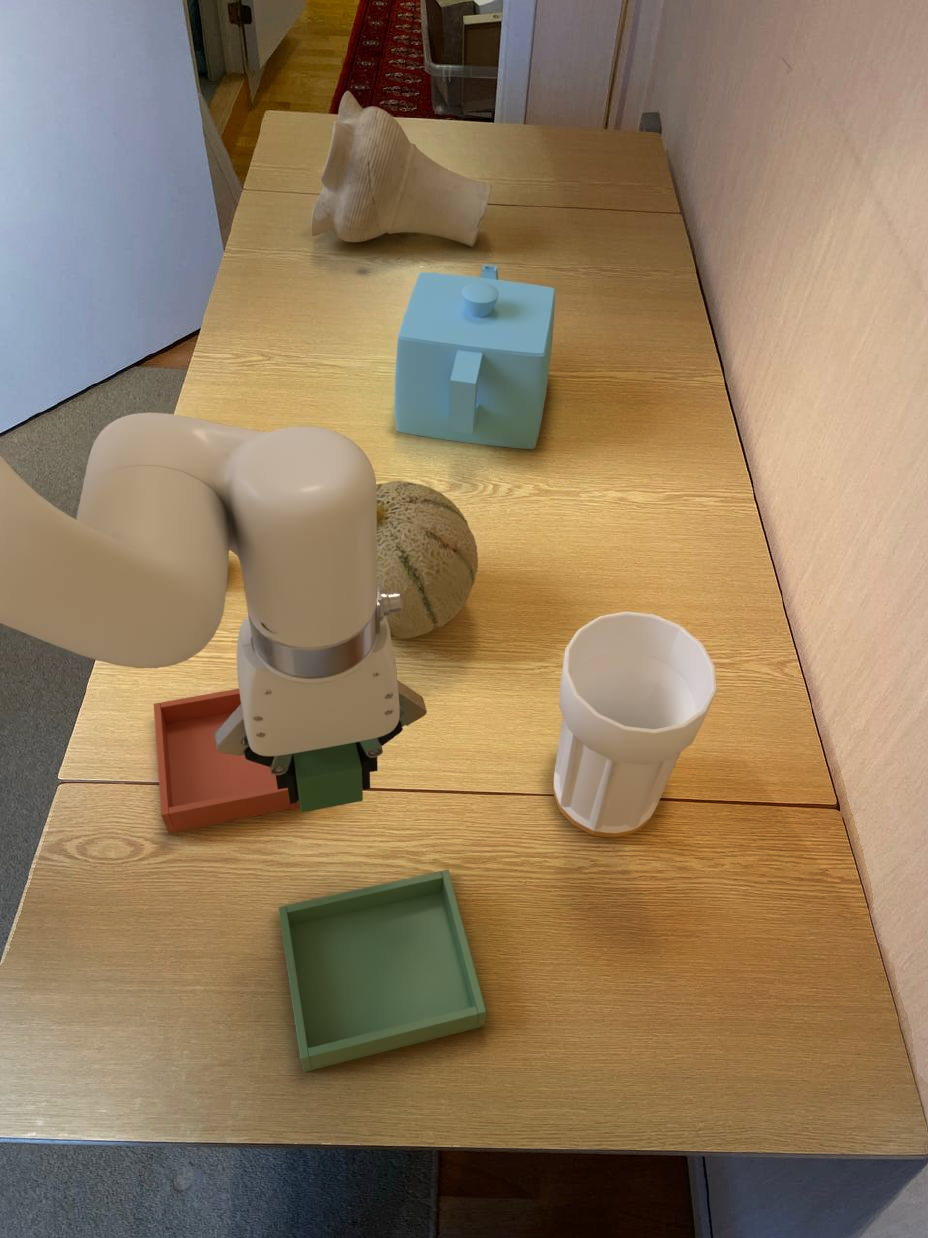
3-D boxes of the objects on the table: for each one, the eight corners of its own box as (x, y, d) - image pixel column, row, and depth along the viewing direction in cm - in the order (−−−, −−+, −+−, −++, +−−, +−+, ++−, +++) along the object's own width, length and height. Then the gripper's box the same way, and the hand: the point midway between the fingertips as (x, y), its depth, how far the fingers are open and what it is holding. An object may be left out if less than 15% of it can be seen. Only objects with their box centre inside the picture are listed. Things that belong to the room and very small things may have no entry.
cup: (513, 795, 84) (532, 672, 71) (590, 714, 90) (621, 587, 77) (621, 876, 80) (662, 762, 67) (695, 786, 86) (746, 665, 72)
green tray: (304, 1072, 69) (300, 1059, 67) (282, 923, 76) (278, 906, 74) (484, 1026, 72) (486, 1012, 69) (447, 886, 79) (448, 869, 76)
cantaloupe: (501, 597, 99) (513, 486, 88) (418, 694, 91) (419, 585, 79) (383, 537, 104) (380, 423, 92) (293, 623, 96) (278, 511, 84)
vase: (534, 123, 141) (344, 57, 136) (540, 167, 124) (323, 94, 120) (488, 266, 154) (313, 211, 150) (487, 324, 138) (290, 264, 133)
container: (385, 457, 112) (382, 341, 100) (423, 334, 128) (424, 221, 116) (533, 477, 111) (548, 362, 99) (553, 350, 127) (567, 238, 115)
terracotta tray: (168, 834, 81) (161, 815, 78) (160, 723, 87) (153, 703, 85) (304, 806, 83) (301, 787, 80) (286, 700, 90) (282, 680, 87)
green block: (301, 813, 70) (297, 780, 67) (292, 761, 73) (287, 727, 70) (362, 801, 71) (362, 768, 68) (351, 750, 74) (350, 716, 71)
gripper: (437, 554, 62) (427, 718, 76) (163, 594, 59) (205, 758, 73) (467, 644, 58) (450, 801, 72) (172, 693, 54) (214, 848, 68)
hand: (326, 778), depth 72 cm, fingers closed on green block, 4 cm apart
